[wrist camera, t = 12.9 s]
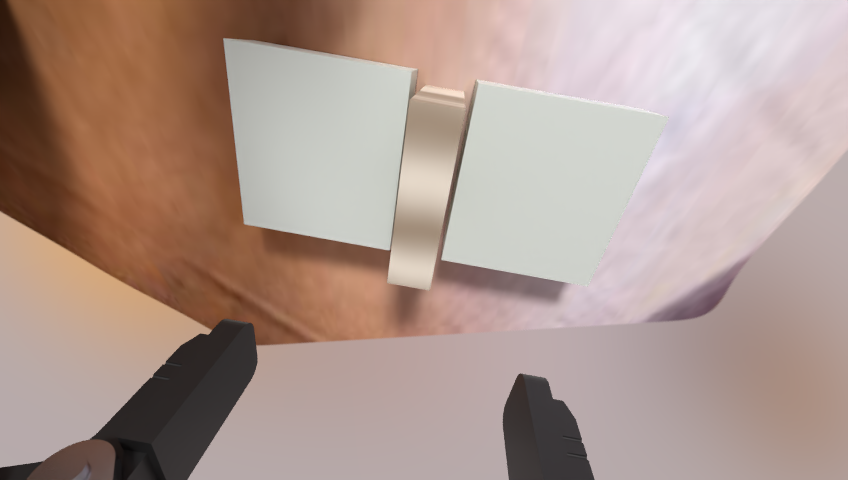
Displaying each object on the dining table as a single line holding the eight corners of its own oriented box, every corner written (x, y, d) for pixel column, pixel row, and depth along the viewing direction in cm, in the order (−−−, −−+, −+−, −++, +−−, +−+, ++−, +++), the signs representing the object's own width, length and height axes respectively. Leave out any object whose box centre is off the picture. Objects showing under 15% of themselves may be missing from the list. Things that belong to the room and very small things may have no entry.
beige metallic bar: (426, 84, 27) (409, 99, 18) (463, 91, 27) (465, 109, 18) (406, 221, 33) (387, 282, 24) (437, 227, 33) (429, 290, 24)
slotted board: (254, 40, 26) (223, 38, 23) (641, 108, 26) (668, 116, 23) (266, 206, 33) (244, 224, 30) (574, 261, 33) (588, 286, 29)
